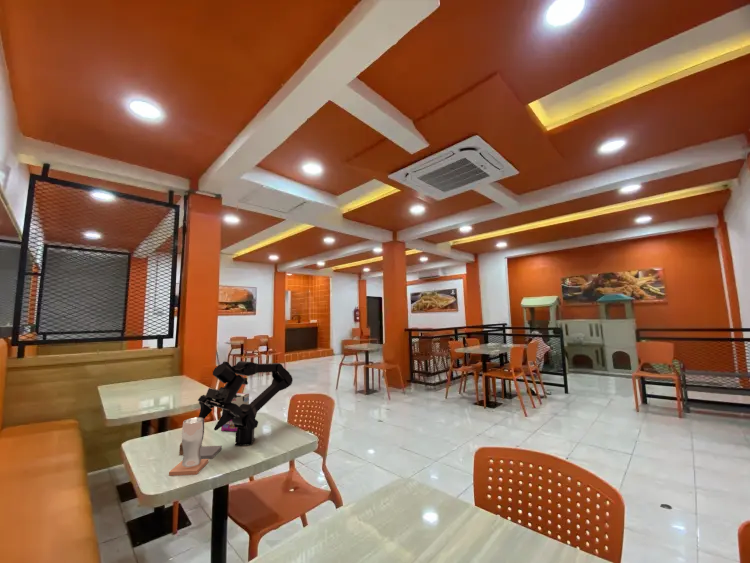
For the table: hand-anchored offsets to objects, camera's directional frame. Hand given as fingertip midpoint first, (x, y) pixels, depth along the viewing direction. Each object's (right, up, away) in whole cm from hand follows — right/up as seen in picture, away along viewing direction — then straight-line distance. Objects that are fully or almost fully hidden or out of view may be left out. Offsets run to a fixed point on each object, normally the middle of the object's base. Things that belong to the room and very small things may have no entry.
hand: (206, 427), depth 119 cm
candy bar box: (-2, -15, +29) cm, 33 cm away
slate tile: (-2, -12, +4) cm, 13 cm away
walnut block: (-10, -12, +5) cm, 17 cm away
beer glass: (-1, -10, -8) cm, 12 cm away
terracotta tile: (-1, -11, -8) cm, 14 cm away
